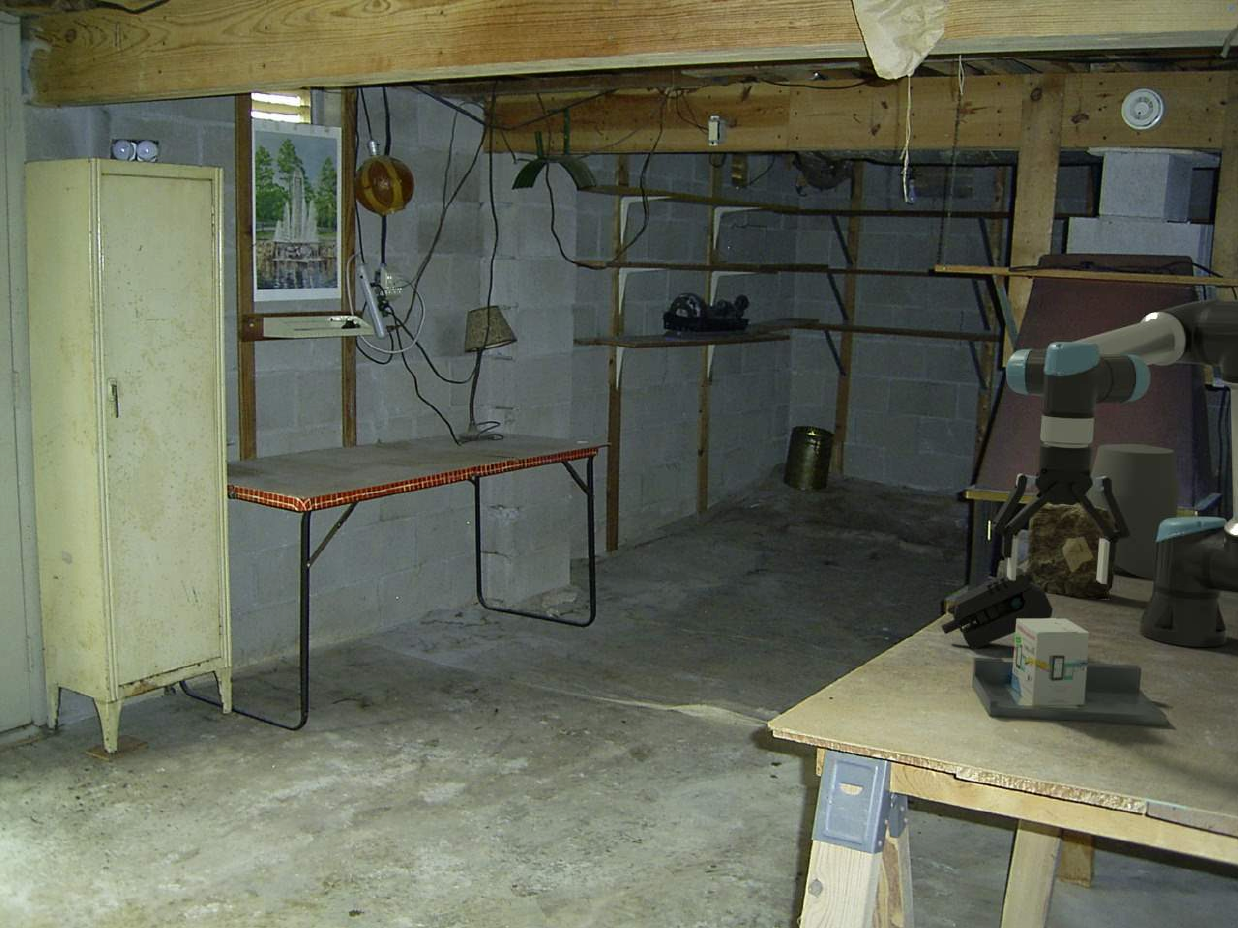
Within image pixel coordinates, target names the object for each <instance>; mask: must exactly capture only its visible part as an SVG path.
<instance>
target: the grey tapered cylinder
mask: <svg viewBox="0 0 1238 928" xmlns="http://www.w3.org/2000/svg"><path fill="white" fill-rule="evenodd" d="M1102 475H1104V476H1106V477H1108V478H1110V479H1111V481H1112V493H1113V495H1114V498H1115V500H1116V502H1117V504H1118V507H1119V509H1120V511H1121V514H1122V516H1123V518H1124V520H1125V523H1126V525H1127V527H1128V530H1129V532H1130V536H1129V537H1128V538H1122V539H1119V541H1118V542H1116V554H1115V563H1114V565H1116V566H1118V567H1119V568H1121V569H1123V570H1125V571H1126V572H1129V573H1130V574H1132V575H1135V576H1137V577H1140V578H1144V579H1154V571H1155V558H1156V545H1157V543H1156V540H1157V536H1158V530H1159V526H1160V524H1161V522H1162V521H1164V520H1166V519H1169V518H1178V508H1179V507H1178V506H1179V497H1180V496H1179V495H1180V494H1179V492H1180V491H1179V484H1178V483H1179V482H1178V475H1177V463H1176V457H1175V451H1174V450H1173V449H1170V448H1166V447H1159V446H1154V445H1147V444H1139V443H1137V444H1136V443H1114V444H1113V443H1112V444H1103V445H1102V444H1101V445H1098V448H1097V452H1096V456H1095V460H1094V463H1093V467H1092V470H1091V473H1090V476H1091V478H1099V477H1100V476H1102ZM1086 496H1087V498H1088V499H1089V500H1090V501H1091V503H1092V505H1093V506H1095V507H1098V508H1103V509H1106V510H1107V508H1106V506H1105V503H1104V501H1103V499H1102V497H1101V494H1100V491H1098V490H1096V489H1095V486H1094V485H1092V487H1091V488H1090V489H1089V490H1088V492H1087V493H1086Z"/></svg>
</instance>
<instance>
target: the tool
mask: <svg viewBox="0 0 1238 928" xmlns="http://www.w3.org/2000/svg"><path fill="white" fill-rule="evenodd" d="M1032 581H1034V580H1033V578H1032V576H1031V574H1030V572H1029V571H1027V572H1026V571H1025V572H1024V570H1023V569H1022V568H1019V567H1016V580H1010V579H1009V578H1008V577H1007V572H1005V573H1001V574H998V576H997V577H993V578H991V579H990V580H986V581H984V583H982V584H980V585H979V586H977V587H974V588H973V589H970V590H968V591H966V592H965V593H962V594H960V595H959V596H956V597H955V599H954V602H953V604H952V605H950V606H948V607H947V609H946V610H947V613H948V614H949V615H952V617H953V619H952V620H949V621H948V622H945V623H943V624H941V625H940V626H941V629H942V631H943V632H944V634H945V635H947V634H949V633H952V632H954V631H956V630H959V631H960V632H961V633H962V636H963V639H964V640H965V642H966V644H967V645H968V647H970V648H971V649H977V648H980V647H982V646H985V645H988V644H990V643H992V642H994V641H997V640H999V639H1002V638H1004V637H1007V636H1009V635H1011V634H1015V632H1016V619H1017V618H1018V619H1043V618H1052V614H1053V607H1052V605H1051V603H1050V599H1048V596H1047V594H1046V591H1044V589H1043V588H1042V587H1041V586H1039V585H1036V584H1033V583H1030V582H1032Z"/></svg>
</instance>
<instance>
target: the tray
mask: <svg viewBox="0 0 1238 928" xmlns="http://www.w3.org/2000/svg"><path fill="white" fill-rule="evenodd" d="M1013 659H1014V657H1011V658H1009V657H1002V658H987V657H973V666H972V681H971V682H972V683H971V688H972V689H973V691H974V693H975V695H976V697H977V698H978V699H979V701H980V703H981V704H982V706H983V707H984V710H985V711H986V712H987V714H988V716H989V717H992V718H993V717H996V718H1013V719H1014V718H1015V719H1029V720H1031V719H1034V720H1051V721H1052V720H1053V721H1066V722H1067V721H1070V722H1087V723H1089V722H1090V723H1105V724H1122V725H1123V724H1125V725H1126V724H1127V725H1140V726H1141V725H1144V726H1163V727H1166V726H1167V721H1168V720H1167V719H1168V716H1167V715H1166V714H1165V713H1164V711H1162V710H1161V709H1160V708H1159V707H1158V706H1157V705H1156V704H1155V703H1154V702H1153V701H1152V700H1151V699H1150V698H1149V697H1148V696H1147V695H1146V694H1145V693H1144V692H1143V691H1142V690H1141V679H1142V678H1141V677H1142V667H1140V666H1139V665H1131V664H1128V665H1127V664H1112V663H1111V664H1110V663H1109V664H1108V663H1094V662H1093V663H1092V662H1087V673H1086V686H1085V700H1084V705H1032V704H1031V703H1030V702H1028V701H1027V700H1026V699H1025V698H1024V697H1022V696H1021V695H1020V694H1019V693H1018V692H1017V691H1015V690H1014V689H1013V688H1012V687H1011V685H1012V672H1013Z"/></svg>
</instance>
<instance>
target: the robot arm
mask: <svg viewBox="0 0 1238 928" xmlns="http://www.w3.org/2000/svg"><path fill="white" fill-rule="evenodd" d="M1152 364H1153V365H1155V366H1161V367H1163V366H1169V365H1172V364H1191V365H1193V364H1194V365H1204V366H1211V367H1214V366H1215V367H1220V381H1221V382H1222V383H1223V384H1224V385H1226V386H1227V388H1229V389H1230V409H1231V410H1230V411H1231V413H1230V414H1231V415H1230V419H1231V463H1232V464H1231V466H1232V470H1231V471H1232V472H1231V475H1232V509H1233V510H1232V515H1233V517H1232V518H1231V519H1230V520H1229V521H1228V520H1227V519H1226V518H1223V517H1217V516H1182V517H1179V516H1177V518H1169V519H1166V520H1164V521H1162V522H1161V524H1160V526H1159V530H1158V536H1157V540H1156V543H1157V545H1156V558H1155V571H1154V578H1153V586H1152V594H1151V595H1150V598H1149V600H1148V603H1147V605H1146V607H1145V609H1144V611H1143V613H1142V614H1141V615H1142V616H1141V618H1140V623H1139V633H1140V634H1142V636H1143V637H1147V638H1149V639H1152V640H1154V641H1157V642H1161V643H1166V644H1170V645H1177V646H1183V647H1196V648H1212V647H1219V646H1220V647H1221V646H1223V645H1225V644H1226V643H1227V637H1228V629H1227V625H1226V620H1225V616H1224V614H1223V610H1222V606H1221V592H1224V593H1227V594H1231V595H1236V596H1238V299H1215V298H1213V299H1204V300H1202V299H1201V300H1198V301H1197V300H1196V301H1192V302H1188V303H1185V304H1180V305H1177V306H1174V307H1173V306H1172V307H1169V308H1166V309H1163V310H1160V311H1156V312H1152V313H1149V314H1148V315H1146V316H1145V317H1143V318H1142V320H1141V321H1140V322H1138V323H1134V324H1131V325H1128V326H1125V327H1121V328H1116V329H1113V330H1111V331H1105V332H1103V333H1099V334H1096V335H1093V336H1089V337H1086V338H1081V339H1078V340H1075V341H1072V342H1071V341H1067V342H1066V341H1063V342H1062V341H1055V342H1052V343H1050V344H1049V345H1048V346H1047V348H1044V349H1035V348H1029V349H1027V348H1025V349H1024V348H1023V349H1019V350H1015V352H1013V353H1012V355H1010V357H1009V358H1008V361H1007V363H1006V367H1005V375H1006V377H1005V379H1006V383H1007V386H1008V387H1009V388H1010V389H1011V390H1012V391H1013V392H1015V393H1016V394H1023V395H1027V396H1029V397H1033V396H1036V397H1043V399H1042V401H1043V402H1042V403H1043V404H1042V410H1041V426H1040V435H1039V436H1040V437H1039V438H1040V440H1041V441H1042V442H1043V443H1041V444H1040V445H1039V451H1038V462H1037V463H1038V464H1037V472H1036V474H1035V475H1028V474H1024V473H1023V472H1018V473H1016V475H1015V479H1014V484H1013V488H1012V489H1011V491H1010V492H1009V494H1008V496H1007V497H1006V499H1005V501H1004V503H1003V504H1002V506H1001V507H1000V509H999V511H998V513H997V514H996V516H995V518H994V519H993V521H992V522H991V525H990V529H991V530H992V531H993V532H994V533H995V534H998V535H1000V536H1001V537H1002V540H1001V541H1002V542H1001V555H1002V557H1004V558H1006V559H1007V564H1006V565H1007V568H1006V573H1007V577H1008V578H1009V579H1010V580H1016V568H1017V564H1018V563H1017V562H1018V549H1019V538H1018V537H1017V536H1015V535H1016V534H1017V533H1018V532H1020V530H1021V528H1023V527H1024V526H1025V525H1026V524H1027V523H1028V522H1030V519H1031V518H1032V516H1033V515H1034V514H1035V513H1036V512H1037V511H1038V510H1039V509H1040V508H1042V507H1044V506H1045V505H1048V504H1052V505H1060V504H1065V505H1073V506H1074V505H1076V504H1078V506H1081V507H1082V508H1083V509H1084V510H1085V512H1086V513H1087V514H1088V516H1089V517H1090V518H1091V519H1092V521H1093V522H1094V523H1095V524H1096V526H1097V527H1098V528H1099V529H1100V531H1101V532H1102V533H1103V535H1104V536H1105V537H1106V538H1105V539H1099V551H1098V564H1097V578H1096V580H1097V581H1099V582H1100V583H1101V584H1107V572H1108V561H1109V562H1113V561H1114V559H1115V551H1116V542H1118V541H1119V539H1122V538H1128V537H1129V536H1130V532H1129V530H1128V527H1127V525H1126V523H1125V520H1124V518H1123V516H1122V514H1121V511H1120V509H1119V507H1118V504H1117V502H1116V500H1115V498H1114V495H1113V493H1112V481H1111V479H1110V478H1108V477H1106V476H1104V475H1102V476H1100V477H1099V478H1091V465H1092V454H1093V449H1092V448H1091V446H1089V445H1091V443H1093V442H1094V440H1093V439H1094V426H1095V424H1094V423H1095V422H1094V421H1095V410H1096V404H1112V403H1113V404H1117V403H1118V404H1121V405H1122V404H1126V403H1128V402H1134V401H1136V400H1139V399H1141V398H1142V397H1143V396H1145V394H1146V393H1147V391H1148V389H1149V386H1150V384H1151V372H1150V368H1149V366H1150V365H1152ZM1033 484H1034V485H1035V487H1036V489H1038V491H1037V493H1035V494H1034V495H1033V496H1032V498H1031V500H1030V501H1029V502H1028V503H1027V504H1026V505H1025V506H1024V507H1023V508H1022V509H1021V510H1020V511H1019V512H1018V513H1017V514H1016V515H1015V516H1013V518H1012V519H1011V520H1010V518H1011V516H1012V515H1013V513H1014V511H1015V509H1016V508H1017V506H1018V505H1019V504H1020V501H1021V500H1022V497H1023V496H1024V494H1025V492H1026V490H1029V489H1030V488H1031V486H1032V485H1033ZM1092 485H1094V486H1095V489H1096V490H1098V491H1100V494H1101V497H1102V499H1103V501H1104V503H1105V506H1106V508H1107V510H1108V512H1109V515H1110V517H1111V519H1112V522H1113V524H1114V526H1115V528H1116V530H1112V529H1111V527H1110V526H1109V525H1108V524H1107V522H1106V521H1105V520H1104V519H1103V517H1102V516H1101V515H1100V514H1099V512H1098V511H1097V510H1096V508H1095V507H1094V506H1093V505H1092V503H1091V501H1090V500H1089V499H1088V498H1087V492H1088V490H1089V489H1090V488H1091V487H1092ZM1009 520H1010V521H1009ZM1008 521H1009V522H1008Z"/></svg>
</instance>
